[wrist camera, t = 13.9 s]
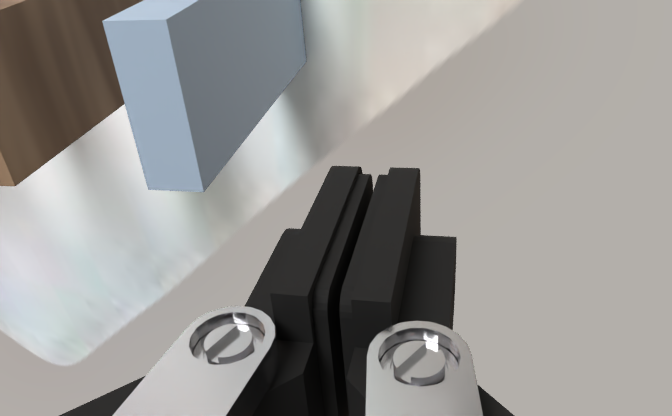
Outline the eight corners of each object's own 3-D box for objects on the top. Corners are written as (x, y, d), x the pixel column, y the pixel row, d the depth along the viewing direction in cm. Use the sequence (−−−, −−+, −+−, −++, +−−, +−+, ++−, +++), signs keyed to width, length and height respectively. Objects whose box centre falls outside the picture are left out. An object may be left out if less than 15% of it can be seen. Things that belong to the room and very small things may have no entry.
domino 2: (269, 61, 28) (148, 189, 18) (253, -55, 25) (102, 20, 15) (306, 61, 27) (203, 192, 18) (294, -57, 25) (165, 19, 15)
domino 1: (152, -47, 26) (-50, 28, 16) (177, 63, 29) (15, 186, 19) (116, -45, 27) (-103, 29, 17) (143, 64, 29) (-33, 184, 19)
